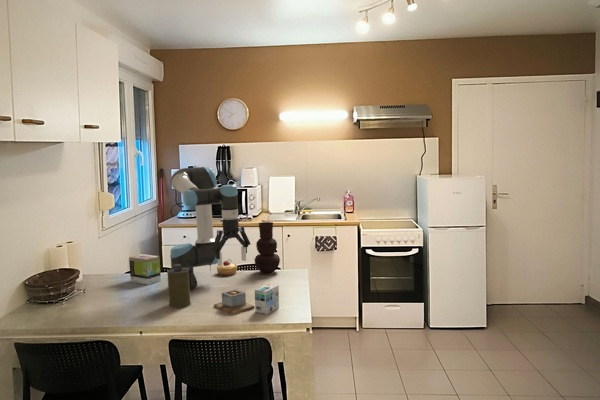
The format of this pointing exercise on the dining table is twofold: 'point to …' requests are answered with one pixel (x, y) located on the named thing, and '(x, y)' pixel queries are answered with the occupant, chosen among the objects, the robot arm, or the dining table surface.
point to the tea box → (145, 269)
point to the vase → (266, 249)
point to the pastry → (227, 268)
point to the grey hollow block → (233, 299)
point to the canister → (179, 286)
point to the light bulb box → (266, 298)
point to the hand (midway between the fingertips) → (232, 263)
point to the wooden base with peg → (235, 310)
